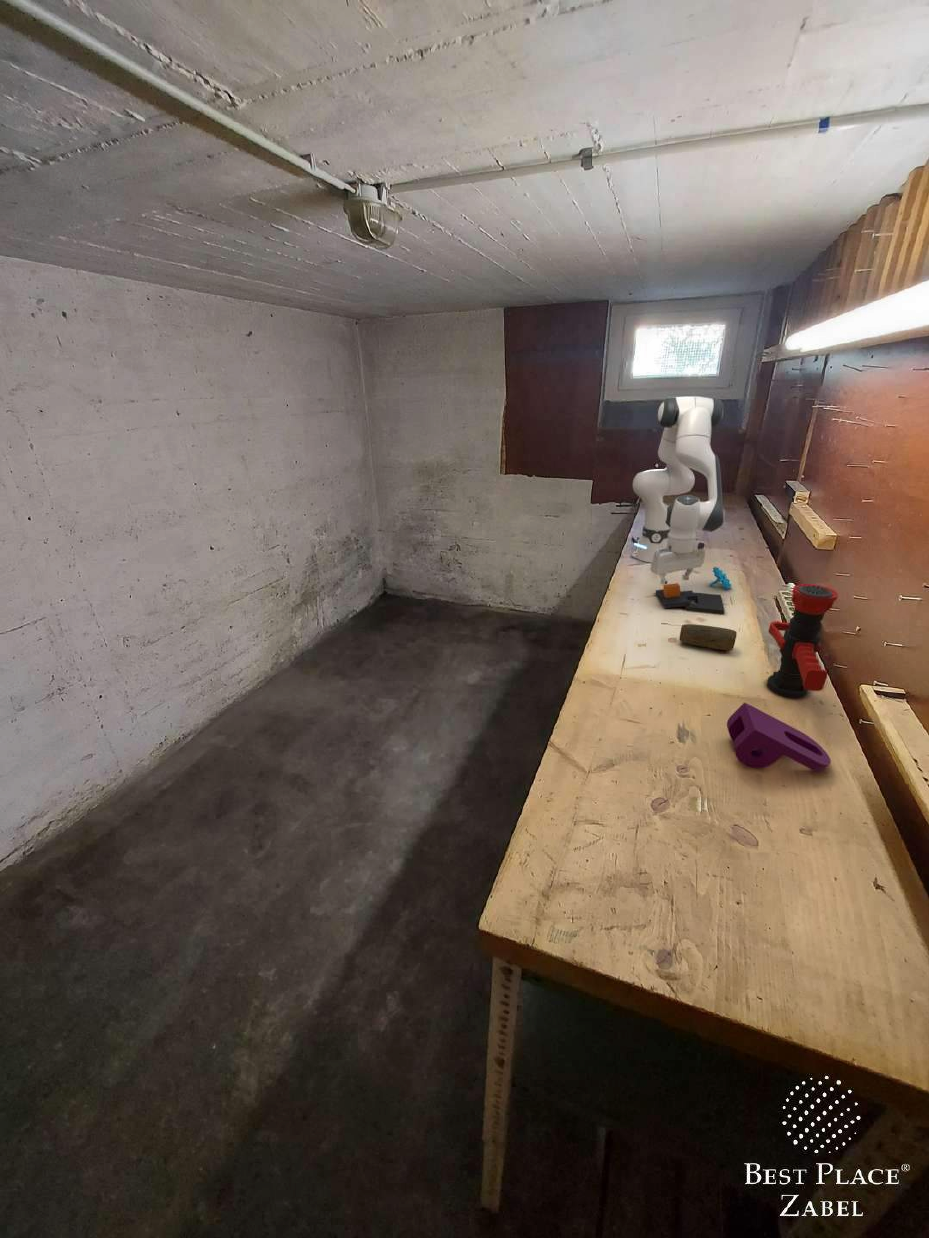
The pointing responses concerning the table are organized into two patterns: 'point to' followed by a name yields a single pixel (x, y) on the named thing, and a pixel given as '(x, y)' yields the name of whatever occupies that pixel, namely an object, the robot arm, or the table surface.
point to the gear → (721, 578)
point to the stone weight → (708, 636)
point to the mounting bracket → (771, 741)
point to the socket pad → (707, 604)
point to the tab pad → (676, 599)
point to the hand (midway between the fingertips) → (674, 581)
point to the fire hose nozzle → (801, 643)
